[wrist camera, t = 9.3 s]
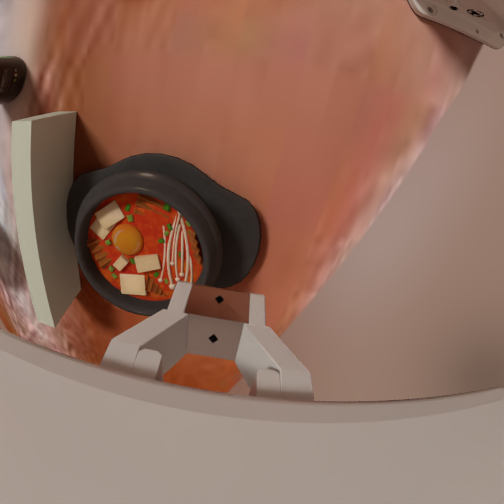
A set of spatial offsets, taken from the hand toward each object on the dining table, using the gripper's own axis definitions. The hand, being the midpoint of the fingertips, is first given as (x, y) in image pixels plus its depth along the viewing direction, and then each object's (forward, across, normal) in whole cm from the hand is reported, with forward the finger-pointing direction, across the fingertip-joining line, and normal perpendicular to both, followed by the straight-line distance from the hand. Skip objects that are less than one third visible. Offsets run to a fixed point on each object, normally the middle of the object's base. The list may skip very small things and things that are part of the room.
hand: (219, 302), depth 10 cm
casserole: (+24, +9, +10) cm, 28 cm away
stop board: (+24, +23, +10) cm, 34 cm away
